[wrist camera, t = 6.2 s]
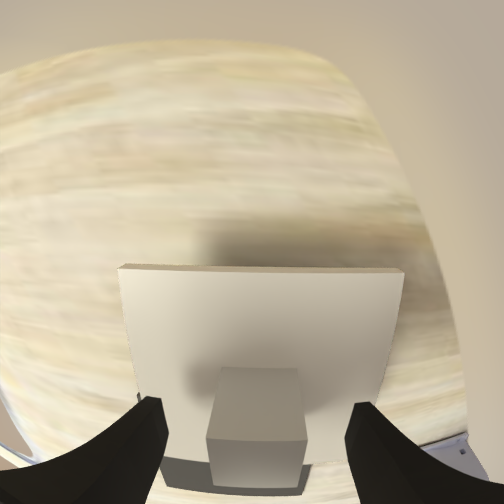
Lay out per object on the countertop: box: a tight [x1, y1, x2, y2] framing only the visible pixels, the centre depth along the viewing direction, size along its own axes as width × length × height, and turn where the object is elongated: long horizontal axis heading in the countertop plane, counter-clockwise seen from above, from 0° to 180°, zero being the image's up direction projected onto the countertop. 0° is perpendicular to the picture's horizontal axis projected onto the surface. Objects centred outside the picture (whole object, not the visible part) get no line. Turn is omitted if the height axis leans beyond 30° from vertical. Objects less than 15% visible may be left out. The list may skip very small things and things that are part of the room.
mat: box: [137, 393, 311, 496], centre depth 19 cm, size 13×13×1 cm
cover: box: [117, 264, 405, 488], centre depth 10 cm, size 11×11×5 cm
